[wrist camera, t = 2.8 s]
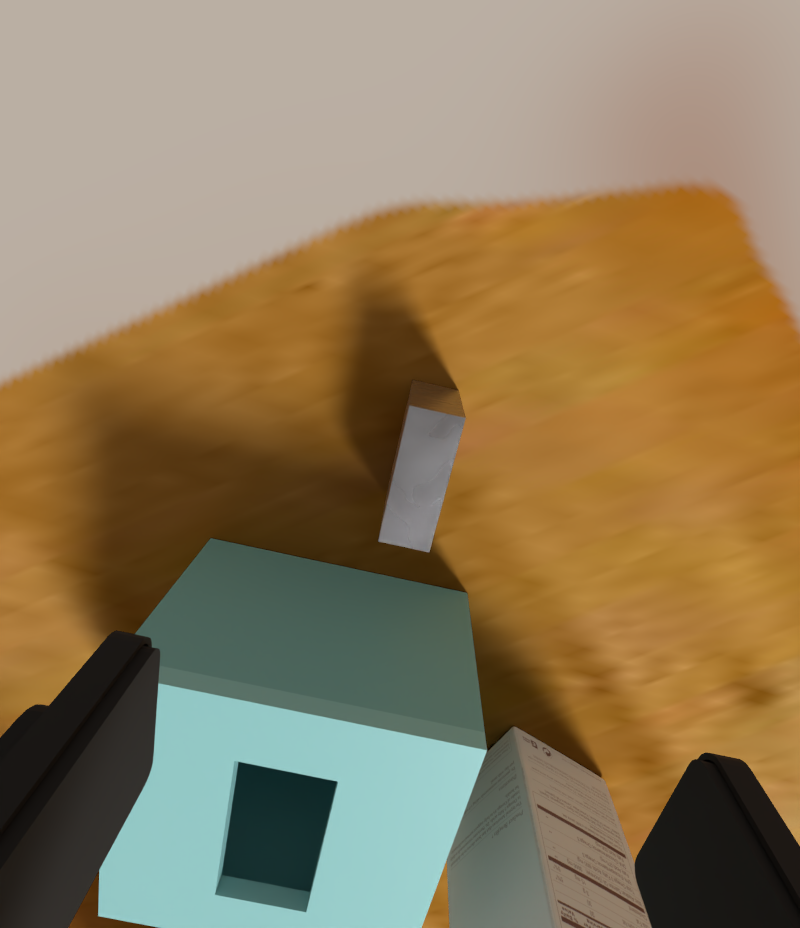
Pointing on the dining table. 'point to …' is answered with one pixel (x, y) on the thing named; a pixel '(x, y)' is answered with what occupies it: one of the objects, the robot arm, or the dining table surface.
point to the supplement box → (540, 846)
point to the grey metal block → (422, 465)
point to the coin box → (299, 748)
